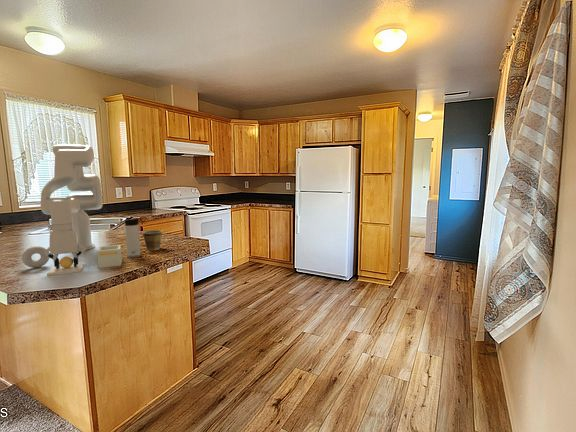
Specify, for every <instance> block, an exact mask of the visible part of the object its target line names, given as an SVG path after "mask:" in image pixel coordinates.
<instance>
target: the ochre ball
mask: <svg viewBox="0 0 576 432" xmlns="http://www.w3.org/2000/svg"><path fill="white" fill-rule="evenodd" d="M59 264H60V266H61V267H64V268H68V267H70V266H71V265H72V264H74V262H73V258H72V257H71V256H64V257H62V258H60V259H59Z"/></svg>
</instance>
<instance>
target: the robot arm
mask: <svg viewBox="0 0 576 432" xmlns="http://www.w3.org/2000/svg"><path fill="white" fill-rule="evenodd" d="M52 153H53V155H54V169H53V170H54V171H53V178H51V179H50V180H49V181H48V182H47V183H45V185H44V186H43V188H42V190H41V193H40V210H41V212H42V214H45V215H47V216H48V215H49V216H50V219H51V224H50V225H47V229H48V230H51V231H50V233H49V246H48V247H47V248H46V249H47V250H46V251H45V252H44V254H45V255H47V256H48V257H50V258H49V259H51V260H53V264H54V265H53V266H55V267H56V269H58V268H59V267H60V263H59V262H60V259H59V257H58V256H59V255H62V254H63V255H65V254H72V256H73V258H72V259H73V264H74V267H76V266H77V264H78V263H79V256H81V254H82V253H84V252H85V251H87V250H91V249H94V248H96V245H95V244H93V242H92V231H91V230H92V229H91V219H90V216H89V215H88V213H87V212H86V211H91V210H92V211H93V210H94V211H95V210H100V209H102V208H103V205H104V202H103V194H102V193H103V191H102V184H101V179H100V177H99V176H98V175H96V174H91V173H90V174H85V173H84V168H88V167H91V165H92V162H93V160H94V158H95V157H94V155H95V152H94V149H93V147H92V146H91V145H88V144H87V145H86V144H69V143H68V144H63V143H61V144H56V145H54V146H53V147H52ZM65 187H67V190H68V191H70V192H75V193H69V194H68V195H67V196H66V197H51V195H52V194H53V193H55V191H58V190H59V189H62V188H65ZM77 192H78V193H77ZM80 192H81V193H80ZM87 192H88V193H87ZM89 192H90V193H89Z"/></svg>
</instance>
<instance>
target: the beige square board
mask: <svg viewBox="0 0 576 432" xmlns="http://www.w3.org/2000/svg"><path fill="white" fill-rule="evenodd" d="M85 266H86V262H78V264H77V266H76V267H74V263H73V264H72V265H71V266H70V267H68V268H64V267H61V266H60V267H59V268H58V269H56V267H55V266H54V265H53V266H52V267H51V268H50V269H48V270H49V271H47V272H46V275H47V276H56V275H63V274H64V273H65V274H71V273H73V274H74V273H81V272H82V270H83V269H84V267H85ZM65 274H64V275H65Z"/></svg>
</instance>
